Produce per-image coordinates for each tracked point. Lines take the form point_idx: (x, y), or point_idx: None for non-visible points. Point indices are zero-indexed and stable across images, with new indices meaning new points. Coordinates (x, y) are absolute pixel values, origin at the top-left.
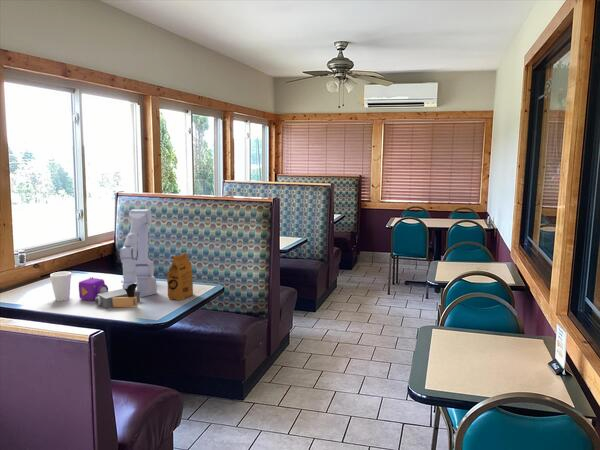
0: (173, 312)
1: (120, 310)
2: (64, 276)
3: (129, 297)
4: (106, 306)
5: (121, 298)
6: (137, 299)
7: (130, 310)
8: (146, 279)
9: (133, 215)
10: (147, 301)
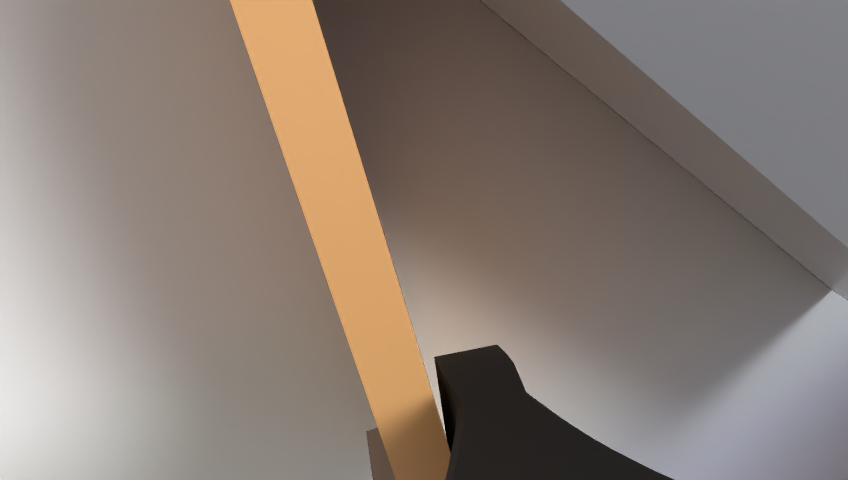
0: None
1: (73, 213)
2: None
3: (397, 466)
4: None
5: (305, 207)
6: (827, 278)
7: (146, 437)
8: None
9: None
10: (791, 447)
